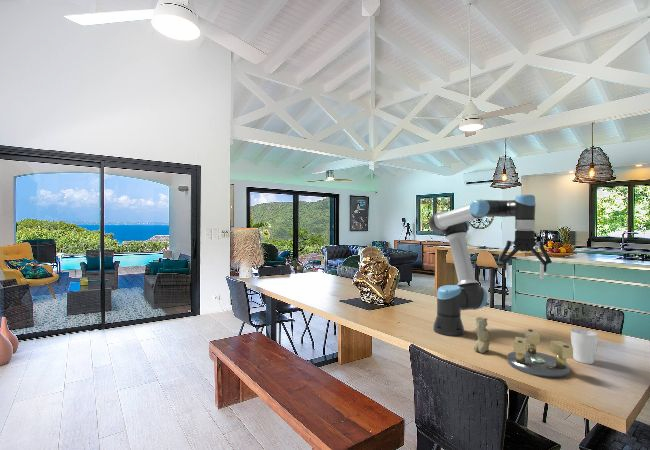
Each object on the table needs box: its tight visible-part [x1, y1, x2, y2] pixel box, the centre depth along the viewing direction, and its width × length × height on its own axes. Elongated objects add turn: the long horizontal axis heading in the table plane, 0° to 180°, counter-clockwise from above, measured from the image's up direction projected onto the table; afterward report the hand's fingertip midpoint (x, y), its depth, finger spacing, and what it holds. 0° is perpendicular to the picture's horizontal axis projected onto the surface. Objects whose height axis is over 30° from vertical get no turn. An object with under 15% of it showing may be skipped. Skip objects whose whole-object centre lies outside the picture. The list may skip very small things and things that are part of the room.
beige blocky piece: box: [524, 328, 541, 354], centre depth 144 cm, size 7×4×9 cm, turn 163°
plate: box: [507, 351, 570, 379], centre depth 137 cm, size 21×21×3 cm
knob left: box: [513, 336, 528, 364], centre depth 135 cm, size 7×4×9 cm, turn 146°
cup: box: [570, 328, 599, 365], centre depth 142 cm, size 9×9×12 cm
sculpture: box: [473, 316, 491, 354], centre depth 152 cm, size 6×7×15 cm
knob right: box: [549, 340, 574, 369], centre depth 131 cm, size 7×4×9 cm, turn 0°
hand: (524, 278), depth 150 cm, fingers open, 13 cm apart
